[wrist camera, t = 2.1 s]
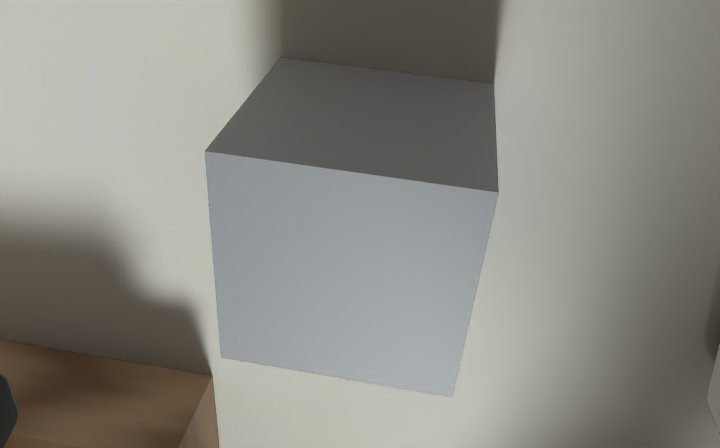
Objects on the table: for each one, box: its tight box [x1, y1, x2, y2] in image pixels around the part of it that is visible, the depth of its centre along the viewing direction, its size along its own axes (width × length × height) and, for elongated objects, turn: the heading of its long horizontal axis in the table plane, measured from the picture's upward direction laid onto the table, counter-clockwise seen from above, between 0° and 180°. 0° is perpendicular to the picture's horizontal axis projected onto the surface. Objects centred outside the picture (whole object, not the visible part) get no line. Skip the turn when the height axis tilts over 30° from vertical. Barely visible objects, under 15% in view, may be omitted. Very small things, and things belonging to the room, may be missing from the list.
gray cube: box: [205, 57, 499, 397], centre depth 14 cm, size 5×5×5 cm
